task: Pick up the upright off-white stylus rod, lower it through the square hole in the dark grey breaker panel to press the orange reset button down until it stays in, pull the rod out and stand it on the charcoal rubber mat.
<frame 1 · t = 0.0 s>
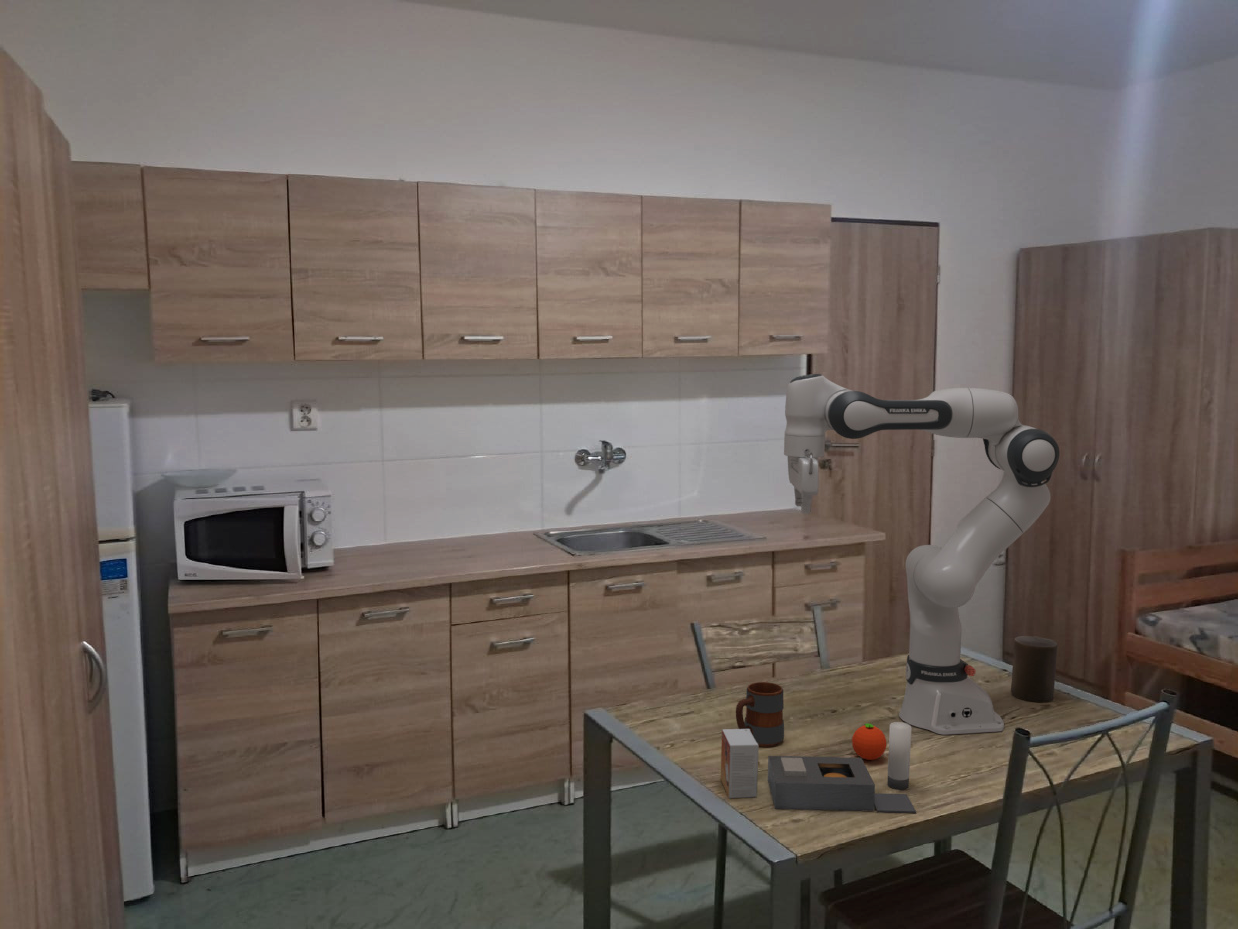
hand: (802, 509, 223), 48 cm above the table, fingers open, 8 cm apart
small box: (738, 790, 191), on the table
button: (835, 781, 188), point 3 cm above the table, slide at 0.0 cm
panel: (819, 795, 189), on the table
stylus: (897, 785, 193), on the table
mug: (757, 742, 214), on the table
clementine: (867, 758, 206), on the table
mat: (892, 804, 185), on the table
pillar candle: (1032, 696, 243), on the table
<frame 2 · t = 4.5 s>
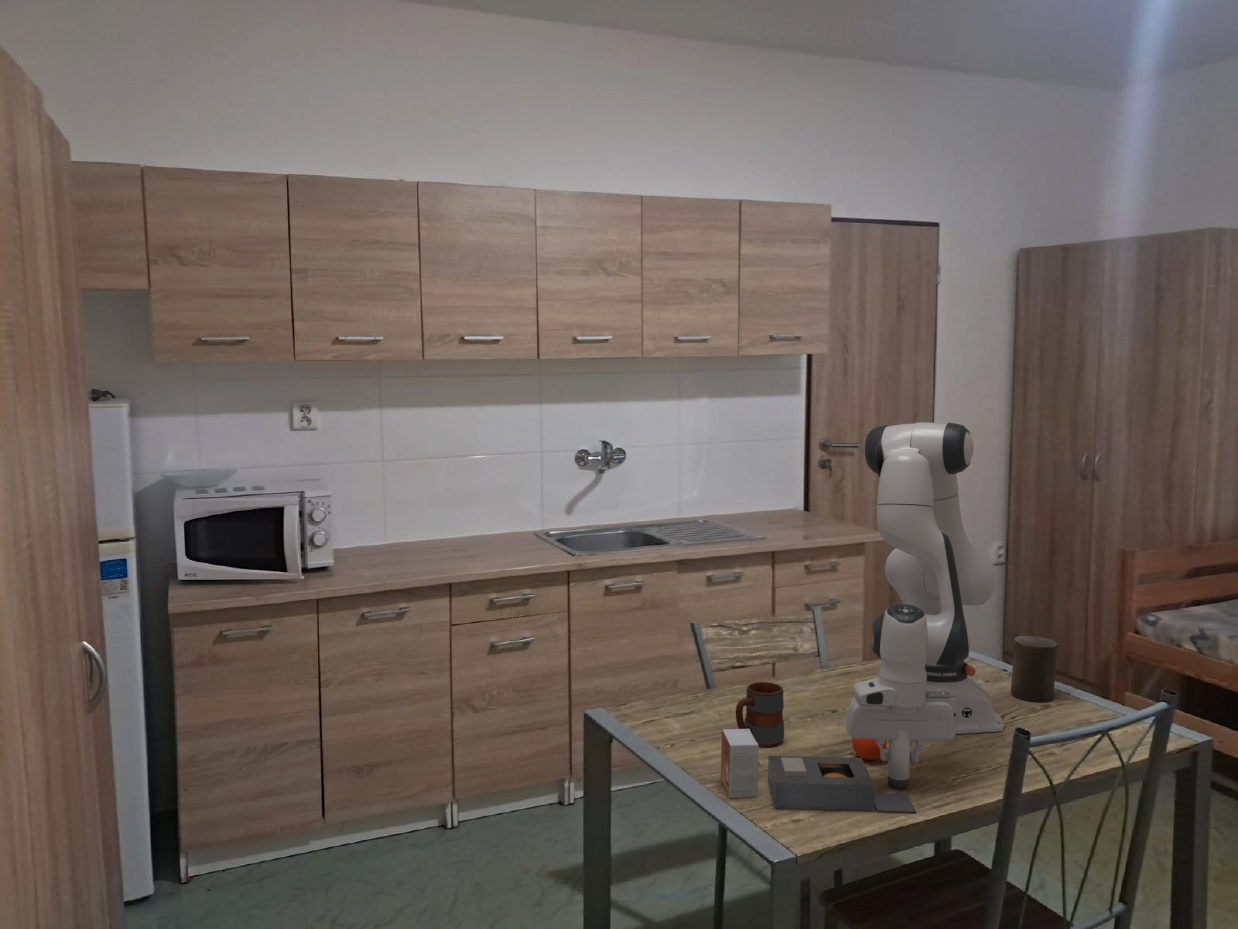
hand: (899, 760, 193), 5 cm above the table, fingers closed on stylus, 4 cm apart
stylus: (897, 785, 193), on the table, touching gripper
everything else where it was.
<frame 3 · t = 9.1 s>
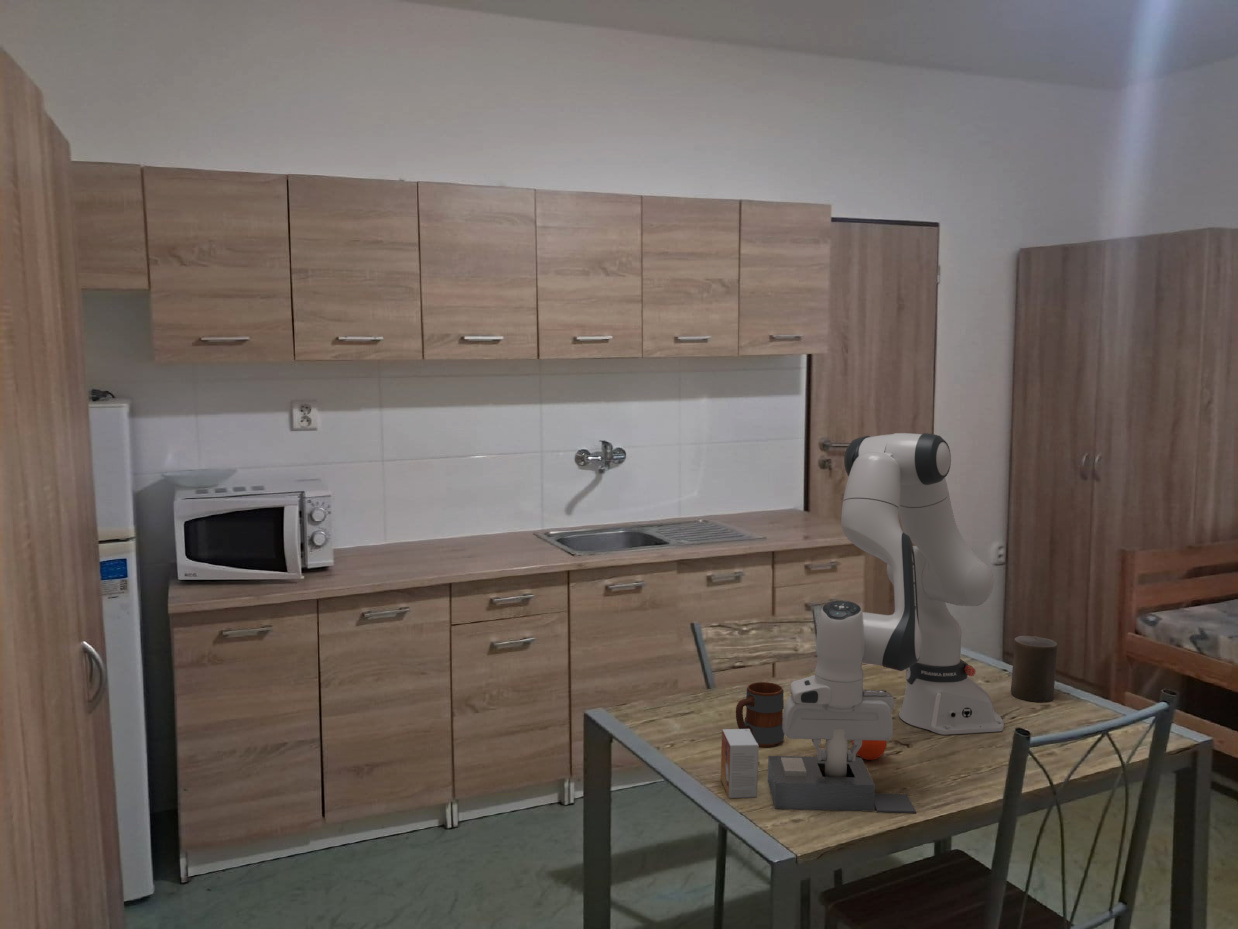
hand: (836, 760, 188), 7 cm above the table, fingers closed on stylus, 4 cm apart
button: (835, 790, 189), point 1 cm above the table, slide at 1.7 cm, touching stylus
stylus: (835, 786, 188), point 2 cm above the table, touching button, gripper
everything else where it was.
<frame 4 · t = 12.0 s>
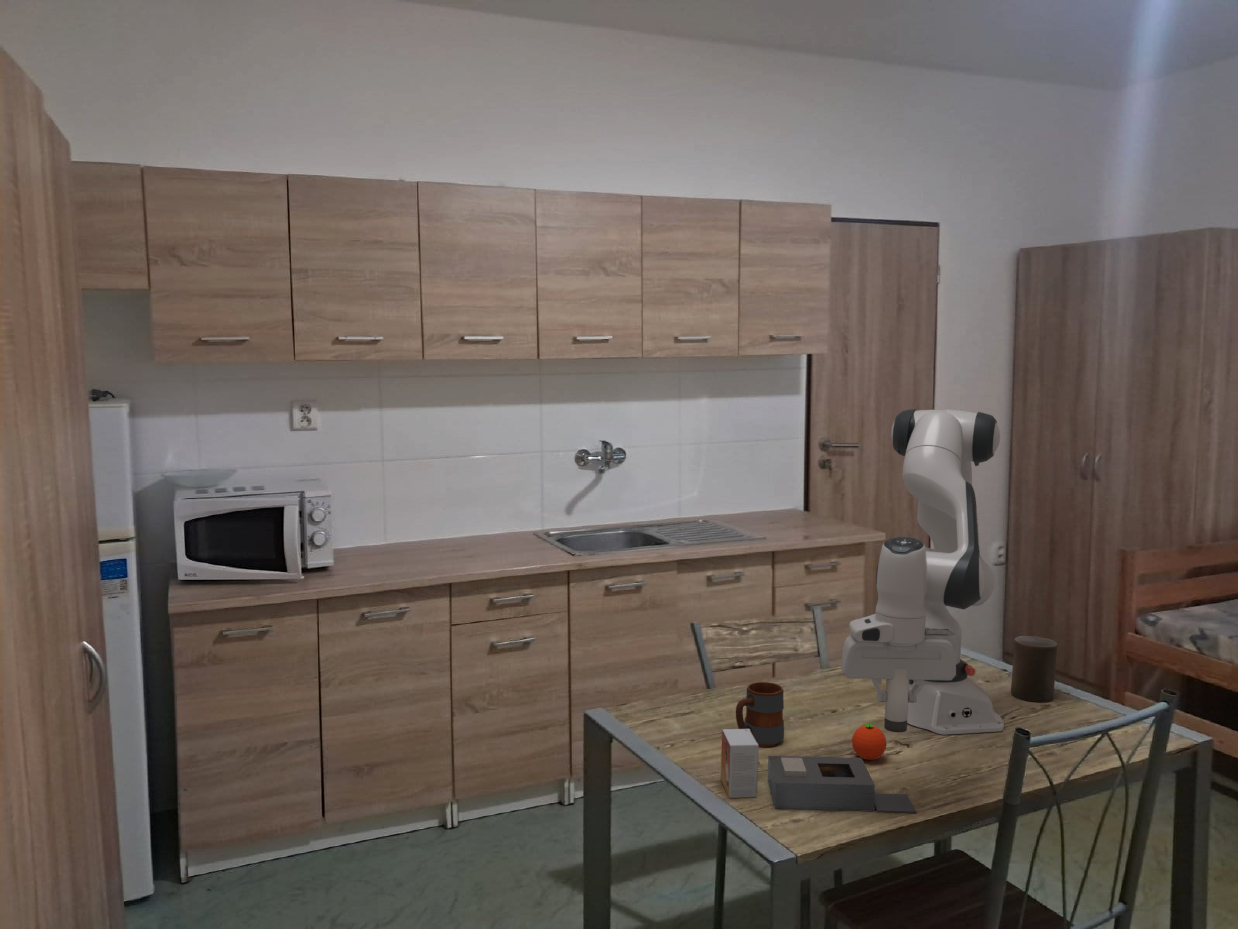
hand: (896, 701, 183), 20 cm above the table, fingers closed on stylus, 4 cm apart
button: (835, 790, 189), point 1 cm above the table, slide at 1.7 cm
stylus: (895, 728, 183), point 15 cm above the table, touching gripper
everything else where it was.
when the fingers open (7 cm above the table, at t = 14.6 s): stylus drops 1 cm, resting on mat.
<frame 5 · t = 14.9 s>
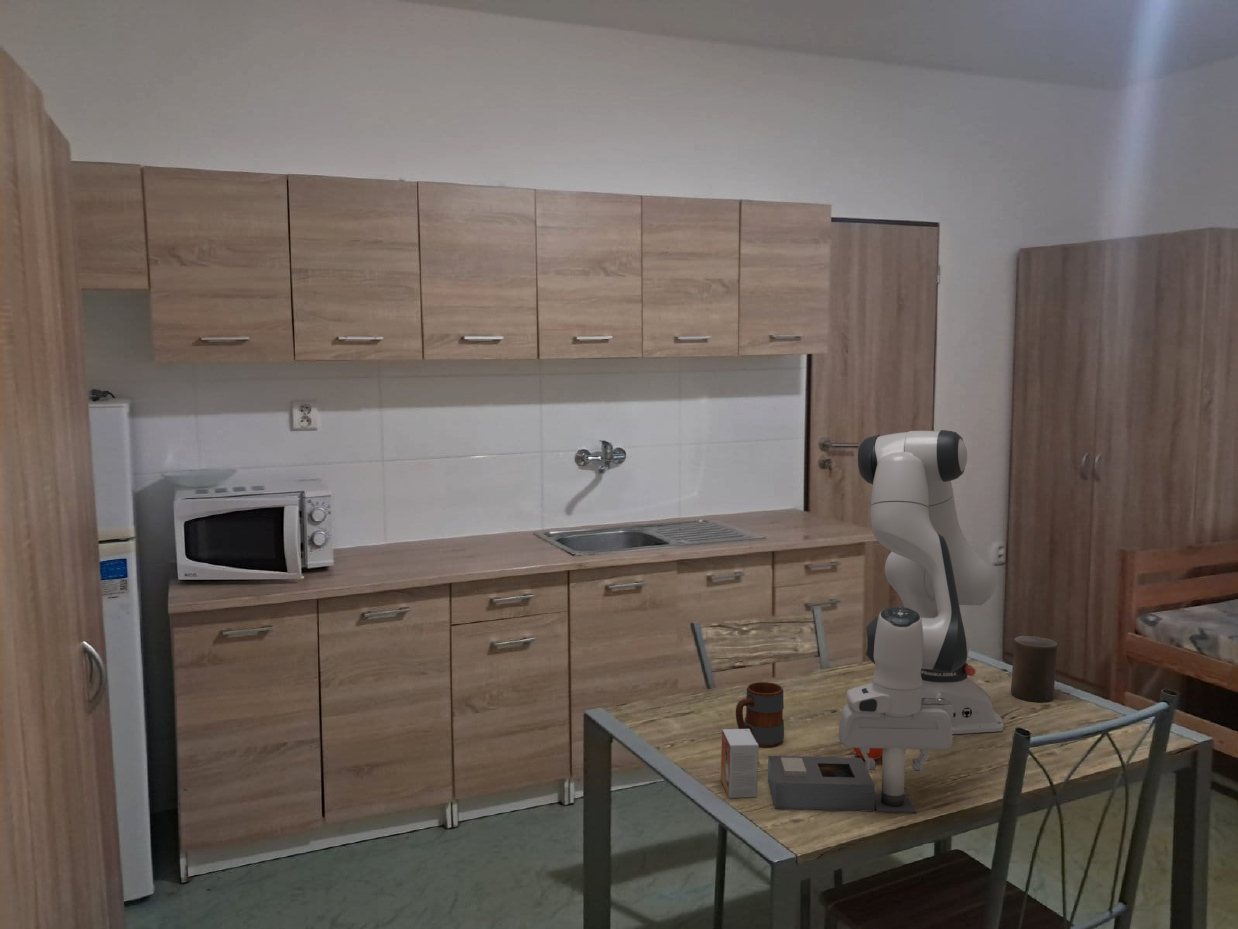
hand: (893, 769, 185), 7 cm above the table, fingers open, 7 cm apart
stylus: (892, 801, 185), resting on mat
everything else where it was.
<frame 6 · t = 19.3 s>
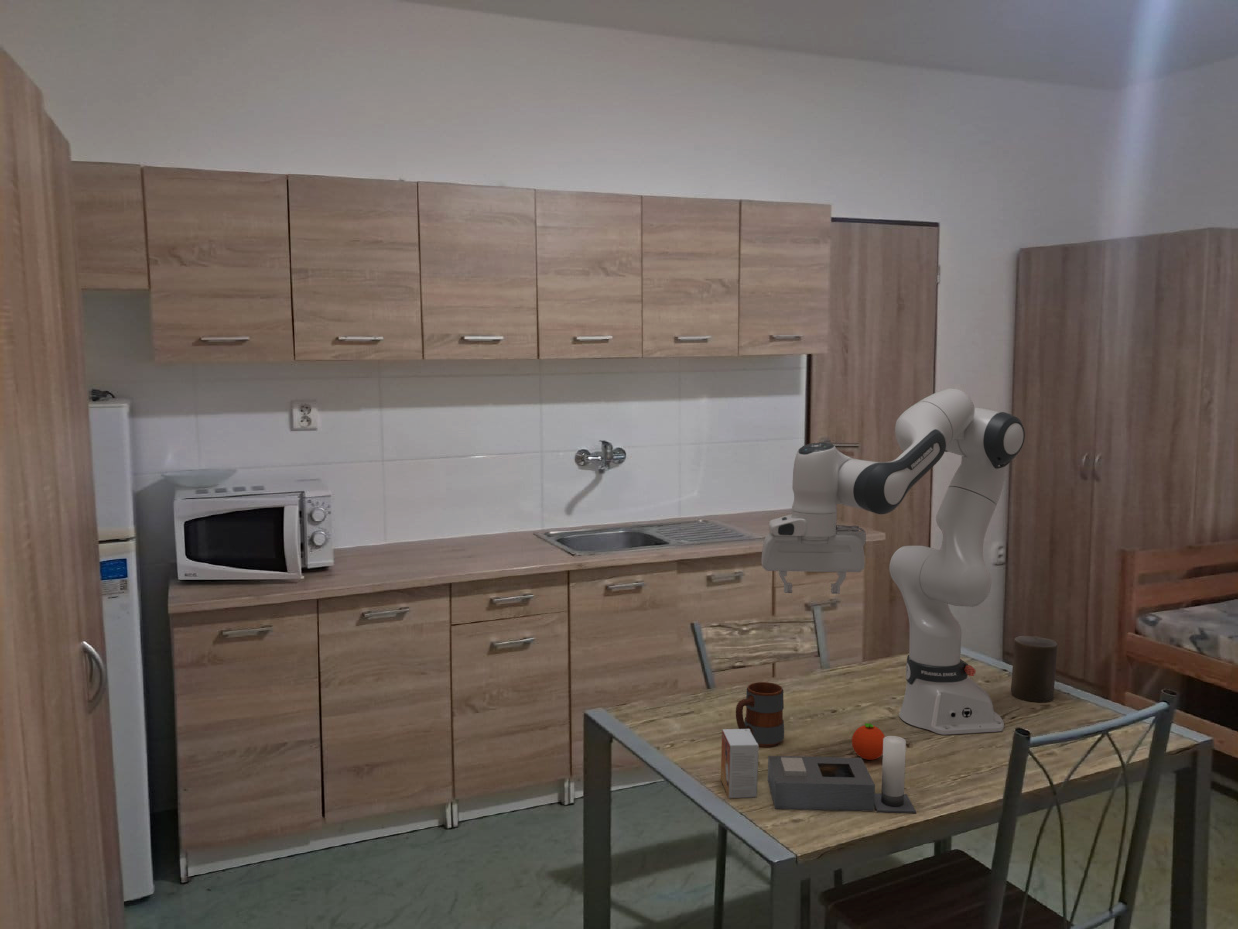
hand: (811, 592, 200), 35 cm above the table, fingers open, 8 cm apart
nothing on the table moved.
at the end: button slide at 1.7 cm; stylus inside the target area on the mat (0.0 cm from its centre), point 0.4 cm above the mat's base; the gripper is holding nothing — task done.
